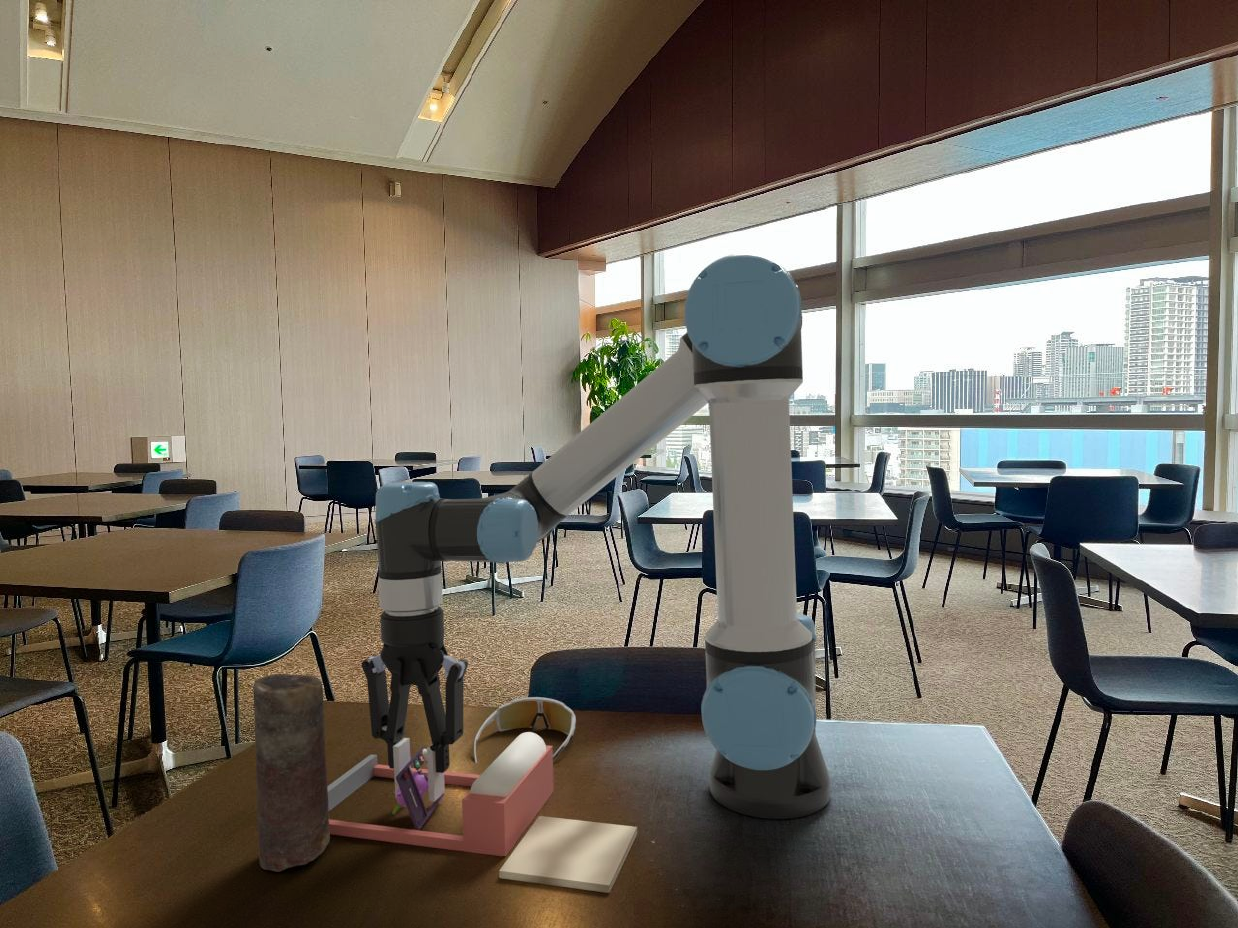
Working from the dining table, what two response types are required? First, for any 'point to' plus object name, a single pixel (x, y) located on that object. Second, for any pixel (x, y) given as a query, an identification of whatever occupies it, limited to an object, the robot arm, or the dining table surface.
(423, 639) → the robot arm
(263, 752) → the brown stone cylinder
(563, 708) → the sunglasses
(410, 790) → the purple toy
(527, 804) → the frame
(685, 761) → the dining table surface
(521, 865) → the plate
